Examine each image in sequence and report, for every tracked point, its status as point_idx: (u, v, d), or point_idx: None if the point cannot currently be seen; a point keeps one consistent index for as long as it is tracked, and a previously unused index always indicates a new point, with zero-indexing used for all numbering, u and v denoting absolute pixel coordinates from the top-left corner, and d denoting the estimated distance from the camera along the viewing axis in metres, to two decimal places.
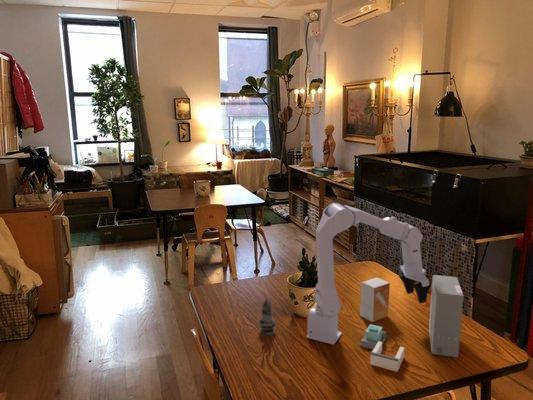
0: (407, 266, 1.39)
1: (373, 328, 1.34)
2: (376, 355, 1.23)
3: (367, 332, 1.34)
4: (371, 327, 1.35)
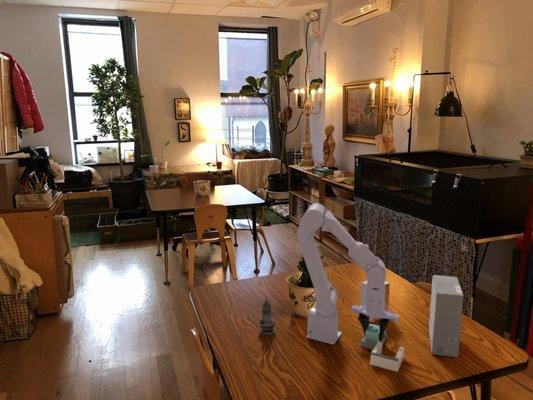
0: (376, 305, 1.31)
1: (373, 328, 1.34)
2: (376, 355, 1.23)
3: (367, 332, 1.34)
4: (371, 327, 1.35)
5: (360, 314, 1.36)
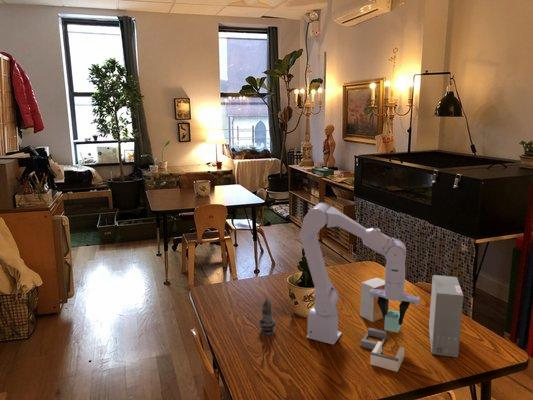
0: (396, 287, 1.26)
1: (393, 313, 1.30)
2: (376, 355, 1.23)
3: (386, 317, 1.30)
4: (390, 312, 1.30)
5: (379, 298, 1.31)
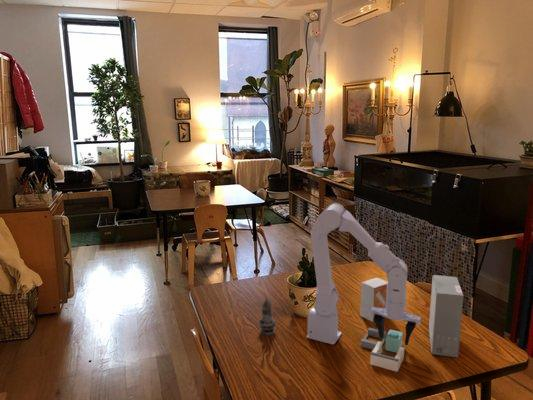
0: (398, 307, 1.27)
1: (394, 333, 1.31)
2: (376, 355, 1.23)
3: (387, 338, 1.31)
4: (391, 332, 1.31)
5: (375, 315, 1.33)
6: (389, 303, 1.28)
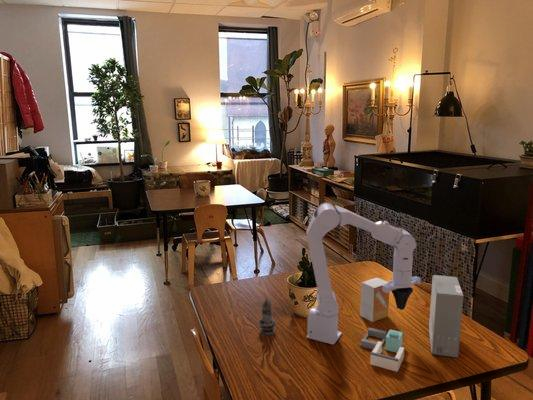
0: (411, 273, 1.33)
1: (394, 333, 1.31)
2: (376, 355, 1.23)
3: (387, 338, 1.31)
4: (391, 332, 1.31)
5: (398, 289, 1.34)
6: (405, 273, 1.32)
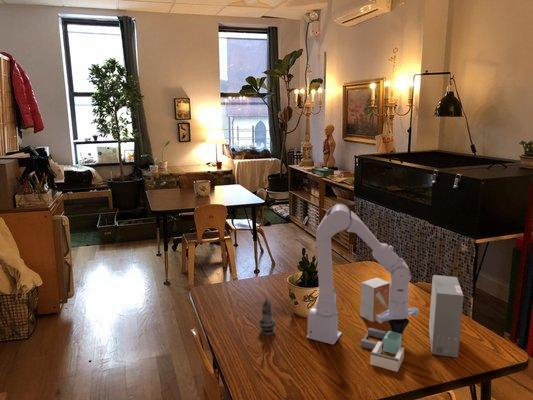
0: (406, 305, 1.31)
1: (392, 335, 1.30)
2: (376, 355, 1.23)
3: (385, 339, 1.30)
4: (390, 334, 1.31)
5: (393, 320, 1.33)
6: (399, 304, 1.30)
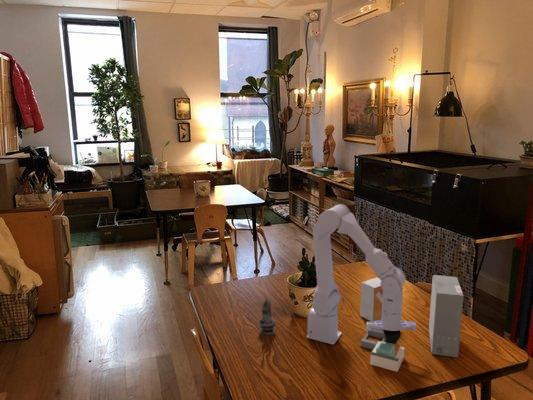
0: (398, 317, 1.24)
1: (384, 346, 1.24)
2: (376, 355, 1.23)
3: (378, 350, 1.24)
4: (382, 345, 1.25)
5: (384, 330, 1.27)
6: (389, 315, 1.24)
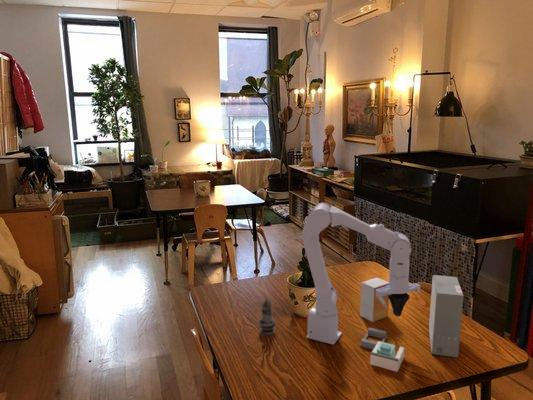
0: (407, 279, 1.28)
1: (385, 346, 1.24)
2: (376, 355, 1.23)
3: (378, 351, 1.24)
4: (383, 345, 1.25)
5: (392, 294, 1.30)
6: (399, 278, 1.27)
